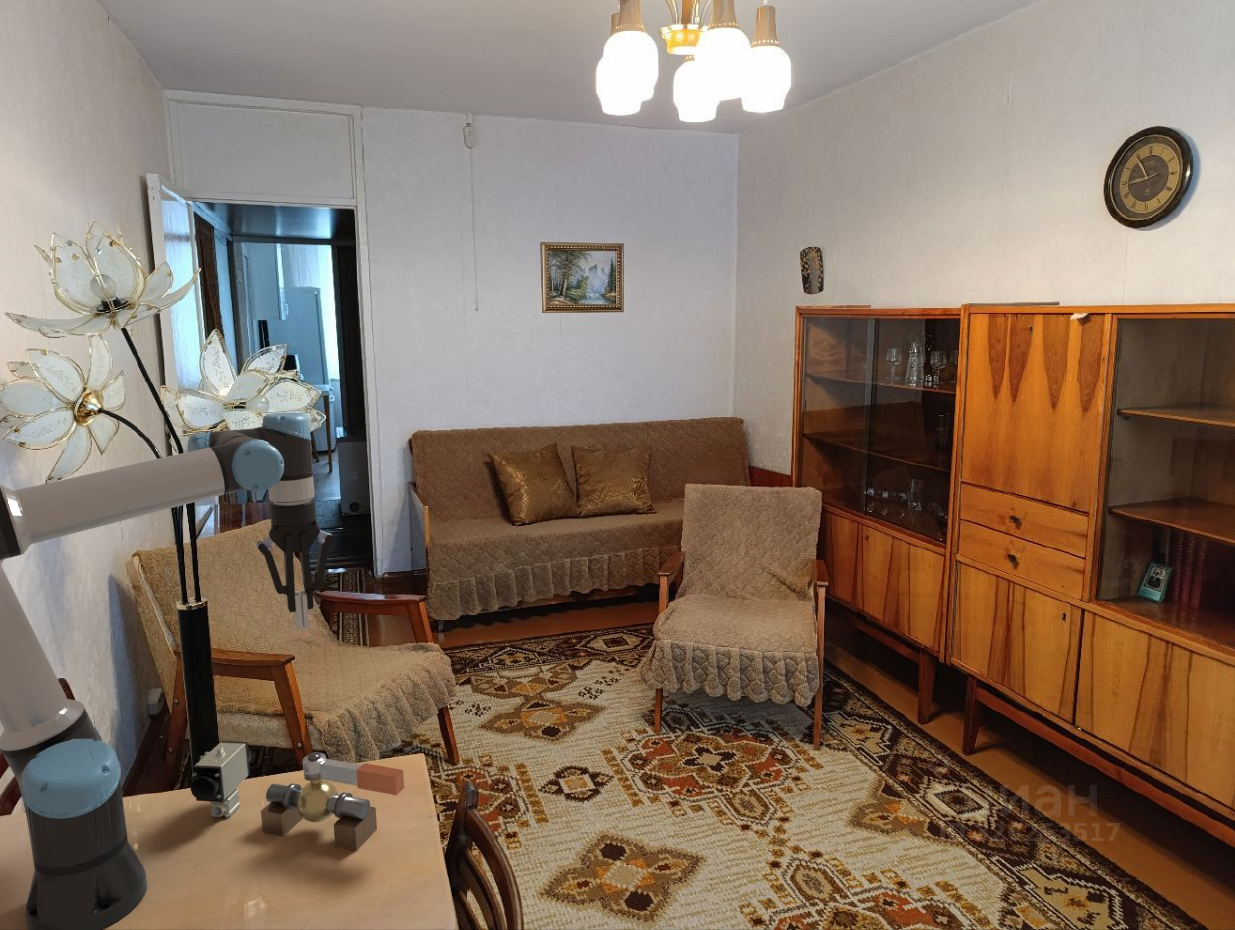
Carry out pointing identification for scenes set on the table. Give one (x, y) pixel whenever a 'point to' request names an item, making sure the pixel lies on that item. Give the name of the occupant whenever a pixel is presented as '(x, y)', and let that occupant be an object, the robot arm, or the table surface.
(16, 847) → the table surface
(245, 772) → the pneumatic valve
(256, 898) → the table surface
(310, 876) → the table surface
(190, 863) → the table surface
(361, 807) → the valve stand
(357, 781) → the valve lever
